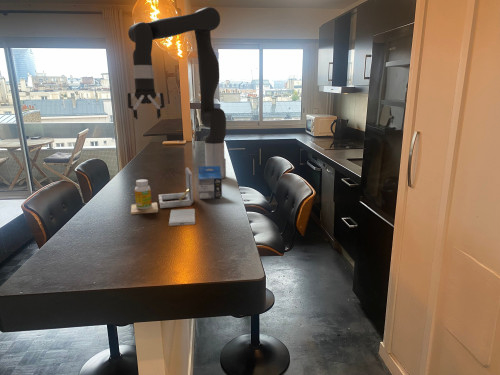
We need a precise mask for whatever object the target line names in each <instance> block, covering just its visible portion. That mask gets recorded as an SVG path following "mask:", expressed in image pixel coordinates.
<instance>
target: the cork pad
mask: <svg viewBox="0 0 500 375" xmlns="http://www.w3.org/2000/svg"><path fill="white" fill-rule="evenodd" d="M130 206H131V207H130V208H131V209H130V215H142V214H151V213H152V214H153V213H158V212H159V207H158V203H157V201H156V202H152V206H151V207H150V208H148V209H138V208H136V203H135V204H133V203H132V204H130Z"/></svg>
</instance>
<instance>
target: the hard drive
mask: <svg viewBox="0 0 500 375" xmlns="http://www.w3.org/2000/svg"><path fill="white" fill-rule="evenodd" d="M195 224H196V210H195V208H185V209H184V208H183V209H171V210H170V214H169V222H168V227H169V226H170V227H171V226H174V227H175V226H188V225H190V226H191V225H195Z"/></svg>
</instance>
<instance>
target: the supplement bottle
mask: <svg viewBox="0 0 500 375" xmlns="http://www.w3.org/2000/svg"><path fill="white" fill-rule="evenodd" d="M135 184H136V186H135V188H134V196H135V197H134V200H135V204H136V208H138V209H148V208H150V207H151V206H152V203H153V201H152V192H151V191H152V190H151V186H150V185H149V180H148V179H142V178H141V179H137V180H135Z"/></svg>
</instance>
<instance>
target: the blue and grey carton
mask: <svg viewBox="0 0 500 375" xmlns="http://www.w3.org/2000/svg"><path fill="white" fill-rule="evenodd" d="M209 168H210V169H213V171H206V169H209ZM197 176H198V196H199V197H198V198H199V200H207V199H208V200H210V199H223V191H222V190H223V185H222V178H221V171H220V166H206V165H205V166H198V175H197Z"/></svg>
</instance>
